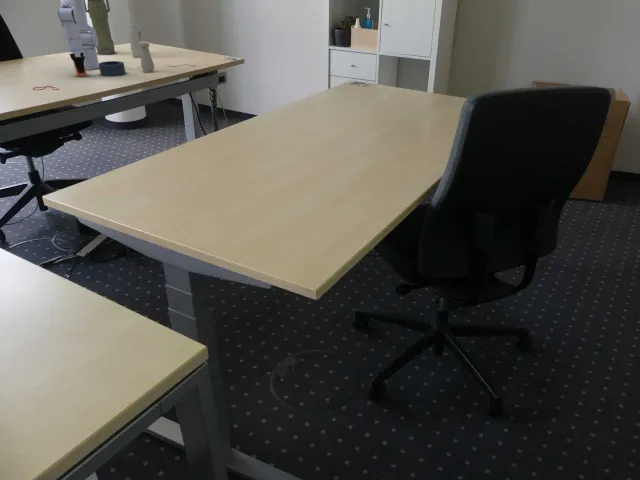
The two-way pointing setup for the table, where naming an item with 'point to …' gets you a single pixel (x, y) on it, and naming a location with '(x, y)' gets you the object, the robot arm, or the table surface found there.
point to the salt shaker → (146, 57)
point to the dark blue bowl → (112, 68)
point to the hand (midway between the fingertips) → (80, 71)
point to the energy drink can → (135, 39)
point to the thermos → (101, 25)
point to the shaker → (80, 73)
